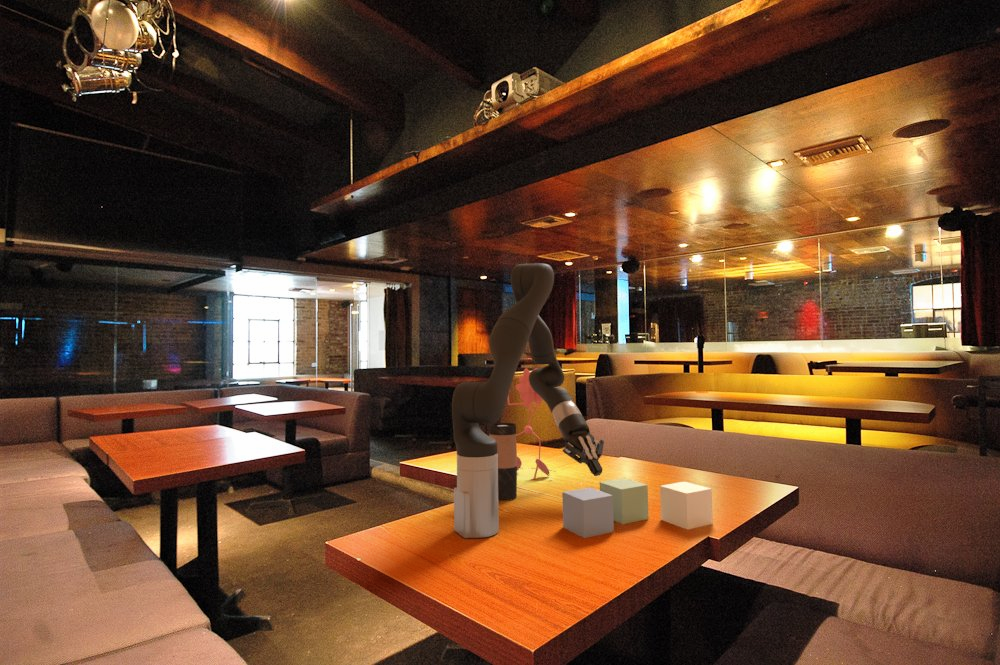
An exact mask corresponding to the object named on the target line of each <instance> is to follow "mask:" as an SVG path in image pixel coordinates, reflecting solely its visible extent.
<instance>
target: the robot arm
mask: <svg viewBox="0 0 1000 665" xmlns="http://www.w3.org/2000/svg"><path fill="white" fill-rule="evenodd" d="M554 281H555V273H554V270H553V268H552V266H551V265H550V264H547V263H541V262H540V263H539V262H538V263H537V262H536V263H520V264H516V265H514V266H513V268H512V269H511V273H510V286H511V292H512V294H513V297H514V300H515V303H514V304H513V305H512V306H510V307H509V308H508V309H507V310H505V311H504V312H503V313H502V314H501V315H500V316H499V317H498V319H497V320H496V322H495V325H494V326H493V329H492V330H491V332H490V335H489V338H488V347H489V350H490V354H491V357H492V360H493V370H492V372H491V375H490V376H489V378H488V380H486V381H464V382H460V383H458V385H457V386H456V387H455V388H454V391H453V394H452V397H451V398H452V400H451V414H452V429H453V432H452V434H453V441H454V444H455V447H456V448H455V449H456V487H454V488H453V526H454V528H453V529H454V531H455V532H456V533H457V534H458V535H460V536H461V537H462V538H463V539H469V538H472V539H473V538H474V539H480V538H488V537H492V536H495V535H496V534H497V533H499V530H500V526H499V525H500V518H499V517H500V516H499V515H500V514H499V500H498V446H497V441H496V440H495V439H493V438H492V437H490V436H489V435H488V434H486V433H485V432H484V431H483V430H482V429H481V427H480V424H484V425H485V424H486V425H490V424H494V423H497V422H498V421H499V420H500V418H501V417H502V414H503V413H504V410H505V408H506V405H507V403H508V400H507V398H508V395H509V396H510V392H511V386H512V384H513V380H514V377H515V375H516V372H517V368H518V366H519V363H520V361H521V358H522V355H523V353H524V351H525V350H526V348H527V345H528V347H529V353H530V358H531V361H532V362H533V364H536V365H545V366H542V367H538V368H537V369H536V368H534V369H535V370H534V369H532V370H533V371H532V370H531V371H530V374H529V383H530V385H531V387H532V388H533V390H534V391H535V392H536V393H537V394H538V395H539V396H540V397H541V398H542V399H543V400H542V401H544V402H545V403H546V405H547V407H548V408H549V410H550V412H551V414H552V417H553V420H554V422H555V424H556V426H557V428H558V430H559V432H560V433H561V436H562V437H563V440H565V442H566V444H565V446H564V447H563V449H562V453H564V454H566V455H567V456H569V457H570V458H571V459H573V460H574V461H575V462H577V463H579V464H582V463H583V464H584V465H587V468H588V470H589V471H590V474H592V475H593V477H597V476H600V475H601V474H602V473H603V467H602V465H601V463H600V462H599V459H600V458H601V457H603V449H604V445H605V441H604V439H599V440H598V439H596V438H595V436H594V435H593V434H592V433H591V432H590V427H589V424H588V423H587V421H586V420H585V418H584V416H583V414H582V412H581V411H580V409H579V408H578V406H577V405H576V403H575V402H574V400H573V398H572V397H571V395H570V393H569V392H568V390H567V389H566V388H564V387H561V386H562V385H563V384H564V382H565V374H564V371H563V368H562V367H561V365H560V363H559V361H558V358H557V356H556V352H555V348H554V347H555V346H554V341H553V340H554V339H553V336H552V333H551V331H550V328H549V327H548V325H547V324H546V323H545V321H544V320H543V319H542V317H541V316H540V312H541V310H542V309H543V306H544V305H545V304H546V302H547V300H548V298H549V297H550V294H551V292H552V290H553V286H554V283H555V282H554ZM509 391H510V392H509Z"/></svg>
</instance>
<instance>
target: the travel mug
mask: <svg viewBox="0 0 1000 665" xmlns="http://www.w3.org/2000/svg"><path fill="white" fill-rule="evenodd" d="M488 427H489V428H488V430H489V435H488V436H490V437H492V438H493V439H495V440H496V441H497V446H498V501H501V500H502V501H503V502H505V501H512V500H515V499H516V498H517V490H518V489H517V488H518V487H517V486H518V485H517V484H518V483H517V482H518V480H517V479H518V471H517V457H518V456H517V454H518V450H517V436H516V435H517V424H516V423H513V422H495V423H492V425H490V424H488ZM514 498H515V499H514ZM511 499H512V500H511ZM504 500H505V501H504Z"/></svg>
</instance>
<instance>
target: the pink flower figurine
mask: <svg viewBox="0 0 1000 665" xmlns="http://www.w3.org/2000/svg"><path fill="white" fill-rule="evenodd" d="M535 369H538V368H534V369H532V370H531V371H533V370H535ZM531 371H530V370H529V369H528V368H527V367H526V368H524V369H523V372H522V375H521V374H520V376H519V378H518V379H519V383H517V384H516V385H515V390H516V391H517V392H519V393H520V395H519V400H522V401H521V402H514V403H513V402H511V403H510V394H509V395H508V398H507V405H508V406H514V405H515V406H516V405H518V406H519V405H522V406H524V407H525V408H527V409H528V410H530V411H531V412H530V417H529V422H528V425H526V426H524V428H523V431H522V432H519V433H518V434H517V433H516V437H518V436H519V435H521V434H524V433H525V434H526V435H530V434H533V435H534V436H535V437H536V438H537V439H538V440H539V442H538V443H539V446H538V458H535V464H536V467H532V469H535V472H534V475H533V479H534V480H536V478H537V473H538V470H540V471H541V472H542V473H544V474H545V475H546V476H548V477H550V472H551V471H552V472H555V473H556V472H557V471H555V470H551V469H549V468H548V466H547V465H546V464H545V463H544V462H543V460H541V438H540V437H539V436H538V435H537V433H535V432H534V431H533V428H532V426H531V421H532V417H533V414H534V411H533V410H535V411H536V410H537V409H538V407H539V405H540V404H541V403H542V401H544V400H543V399H542V398H541V397H540V396H539V395H538V394H537V393H536V392H535V391H534V390H533V388H532V387H531V385H530V383H529V374H530V373H531ZM509 393H511V390H510V391H509ZM533 402H534V403H535V405H536V406H535V407H534V406H532V404H533ZM522 464H523V463H522V460H521V457H519V456H517V472H518V471H519V470H520V469H521V468H522ZM552 481H553V480H549V482H552Z"/></svg>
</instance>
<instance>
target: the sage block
mask: <svg viewBox="0 0 1000 665" xmlns="http://www.w3.org/2000/svg"><path fill="white" fill-rule="evenodd" d="M648 486H649V485H648V484H645V483H643V482H640V481H635V480H632V479H629V478H626V477H623V478H616V479H611V480H604V481H599V491H602V492H605V493H608V494H610V495H613V519H614V522H616V523H618V524H621V525H626V524H630V523H634V522H639V521H644V520H649V492H648V491H649V488H648Z"/></svg>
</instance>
